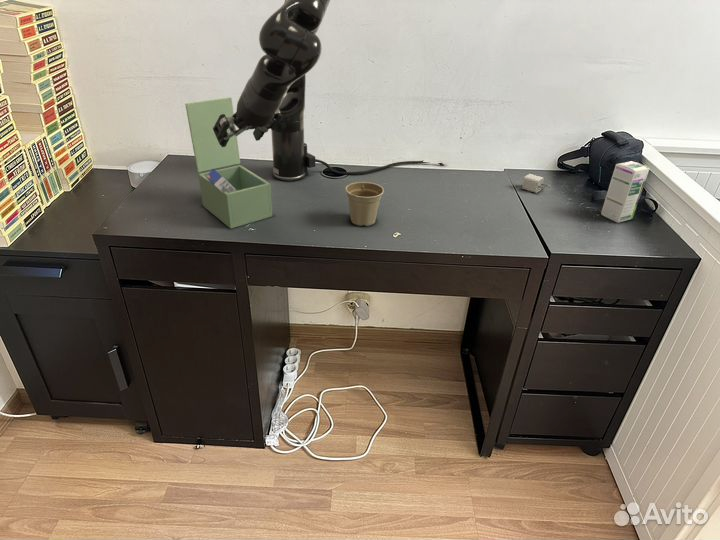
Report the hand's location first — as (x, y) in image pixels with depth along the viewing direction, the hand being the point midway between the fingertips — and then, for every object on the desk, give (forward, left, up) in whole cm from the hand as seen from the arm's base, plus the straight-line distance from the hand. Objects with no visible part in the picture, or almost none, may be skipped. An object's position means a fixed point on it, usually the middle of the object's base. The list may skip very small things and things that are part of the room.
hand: (239, 140), depth 114 cm
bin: (-1, -6, -20) cm, 21 cm away
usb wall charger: (-78, +31, -20) cm, 86 cm away
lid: (-1, -14, -3) cm, 14 cm away
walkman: (-2, -3, -19) cm, 19 cm away
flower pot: (-24, +17, -20) cm, 35 cm away
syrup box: (-81, +54, -20) cm, 99 cm away
